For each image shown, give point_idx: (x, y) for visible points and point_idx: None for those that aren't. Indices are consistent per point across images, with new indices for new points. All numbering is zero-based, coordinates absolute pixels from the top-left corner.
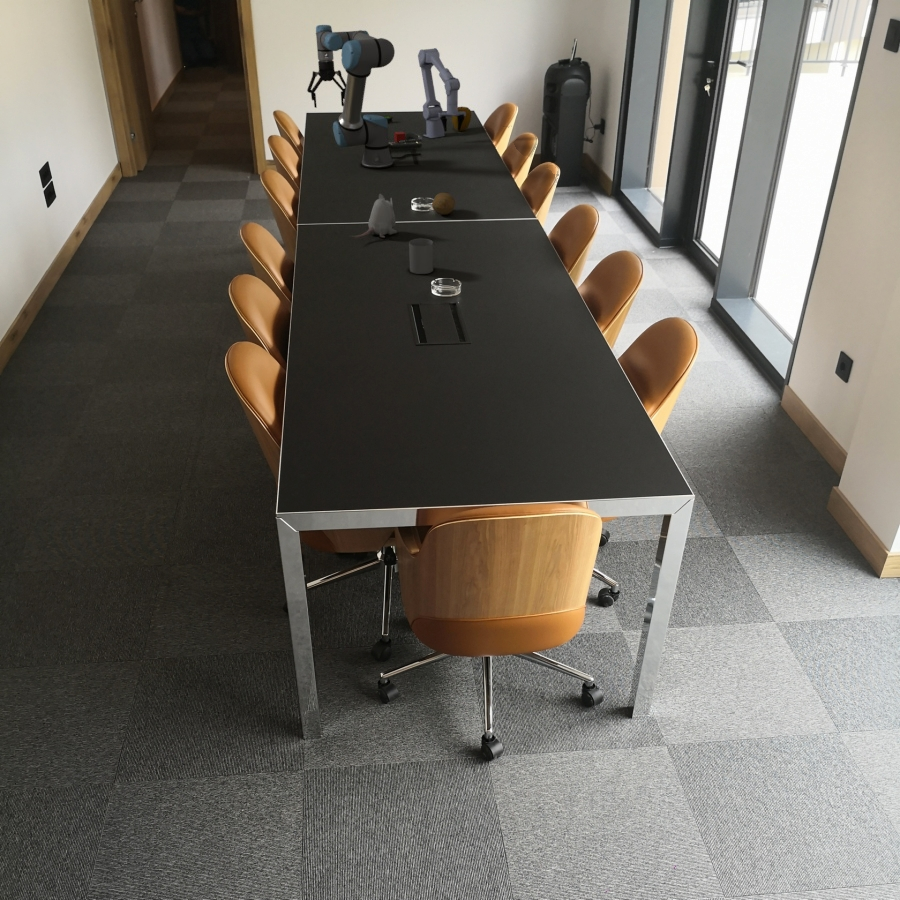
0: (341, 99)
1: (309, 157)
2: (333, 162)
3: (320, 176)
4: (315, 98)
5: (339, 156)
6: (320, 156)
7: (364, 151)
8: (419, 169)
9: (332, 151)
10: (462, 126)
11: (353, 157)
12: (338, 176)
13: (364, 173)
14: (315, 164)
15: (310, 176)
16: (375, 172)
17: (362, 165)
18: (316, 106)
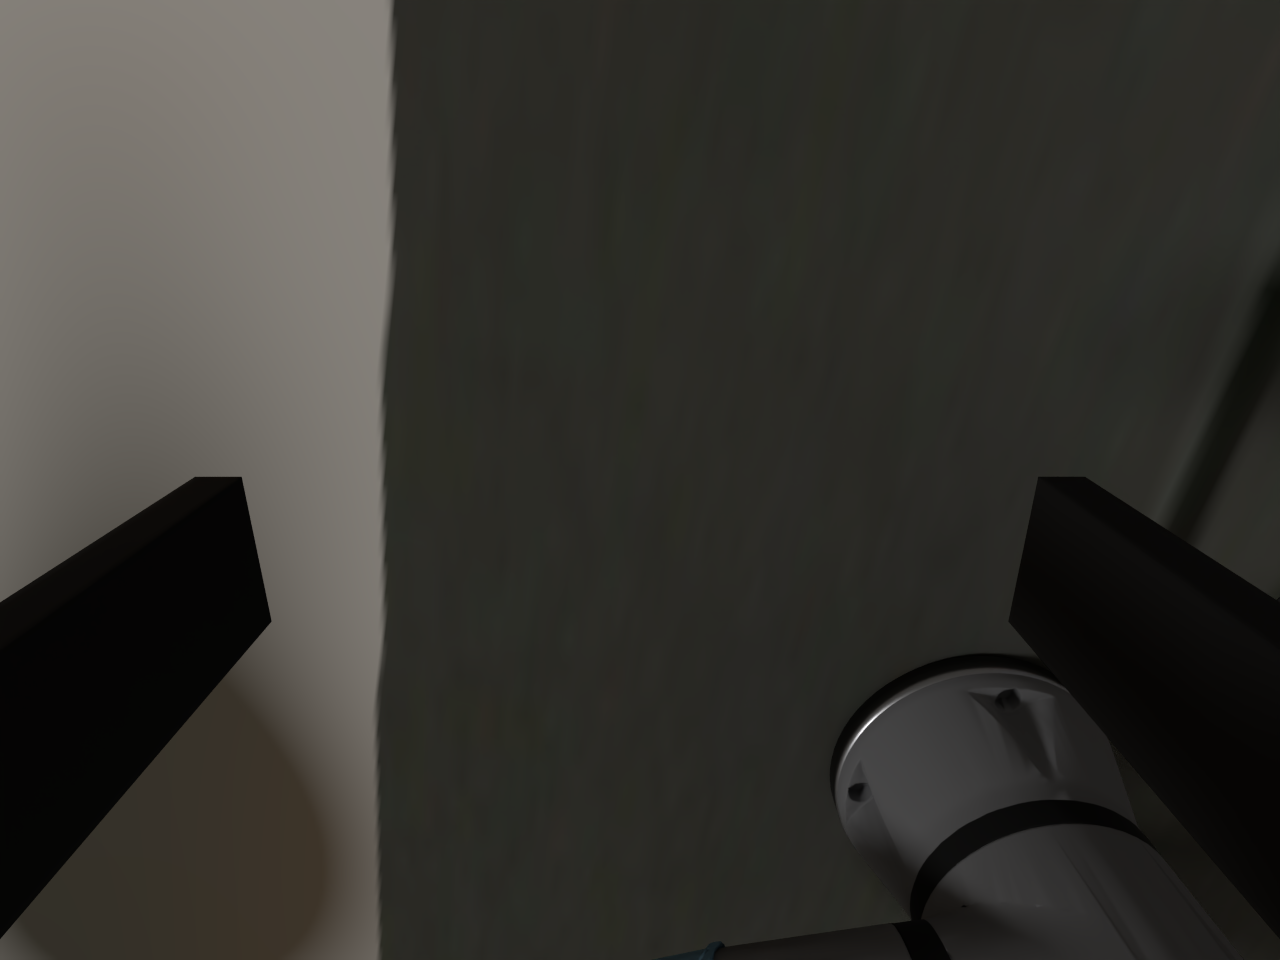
0: (1136, 636)
1: (384, 372)
2: (609, 606)
3: (468, 926)
4: (89, 813)
5: (702, 407)
6: (503, 358)
7: (895, 845)
8: (1212, 919)
9: (662, 157)
10: None
11: (831, 479)
12: (596, 949)
13: (792, 925)
14: (441, 632)
15: (395, 913)
16: (877, 920)
17: (830, 779)
18: (254, 636)
